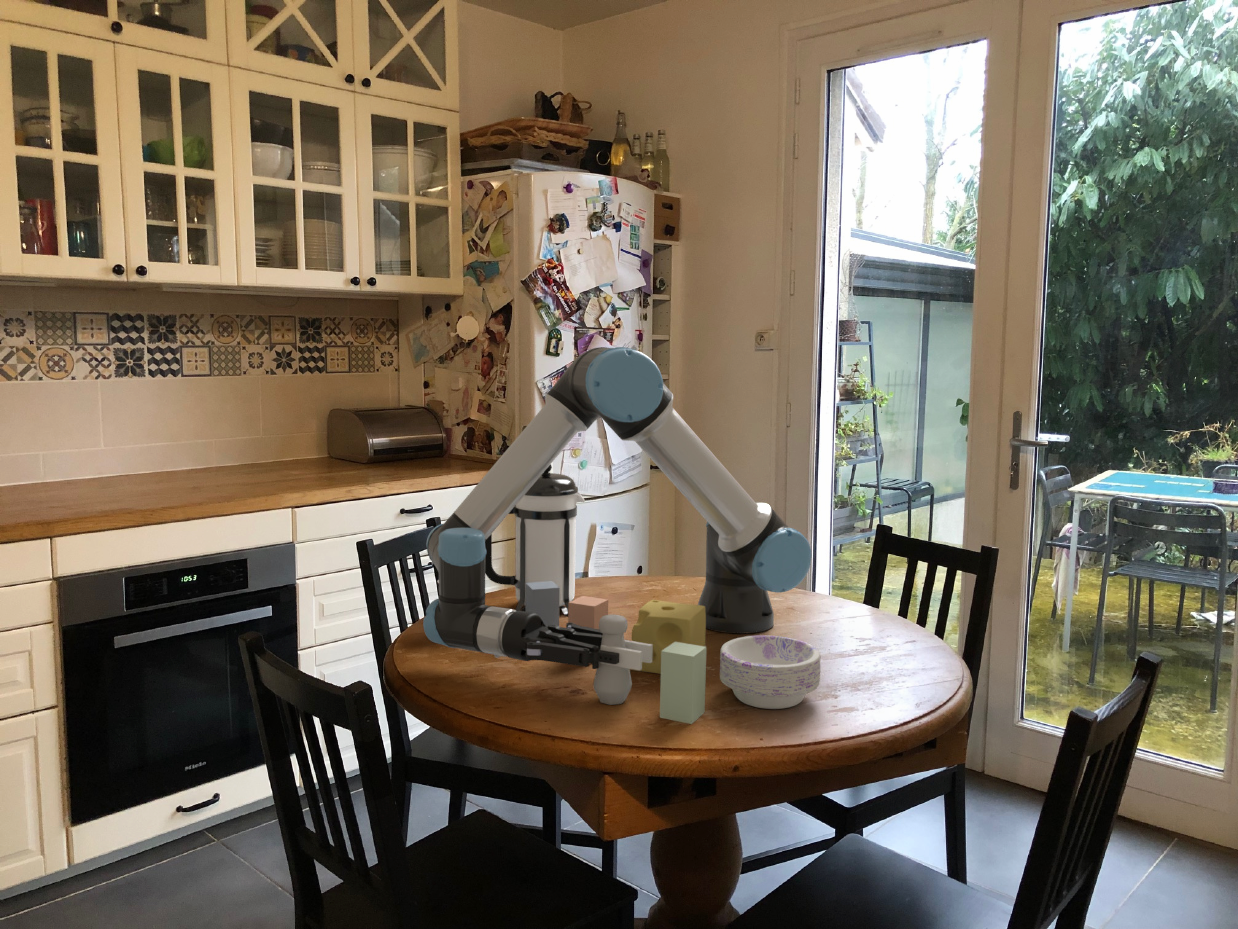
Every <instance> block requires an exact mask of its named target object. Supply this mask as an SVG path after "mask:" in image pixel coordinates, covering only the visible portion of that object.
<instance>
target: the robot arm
mask: <svg viewBox="0 0 1238 929" xmlns="http://www.w3.org/2000/svg"><path fill="white" fill-rule="evenodd" d="M544 398H545V403H544V405H543V406H542V407H541V409H540V410H539V411H538V412H537V414H536V415H535V416H534V417H533V418H532V420H531V421H530V422H529V423H528V424H527V425H526V427H525V428H524V429H523V430H522V431H521V432H520V433H519V435H518V436H517V437H516V438H515V439H514V441H513V442H512V443H511V444H510V445H509V447H508V448H507V449H506V450H505V451H504V453H502V455H501V456H500V457H499V459H498V460H497V461H496V462H495V463H494V464H493V465H492V467H491V468H490V469H489V470H488V471H487V472H486V474H485V475H484V476H483V477H482V479H481V480H479V482H478V483H477V485H476V486H475V487H474V488H473V489H472V490H471V491H470V493H468V495H467V496H466V497H465V498H464V499H463V501H462V502H461V503H460V505H458V506H457V508H456V509H455V510H454V511H453V512H452V514H451V515H450V516H449V517H448V518H447V519H446V521H445V522H444V523H441V524H438V525H437V526H435V527H434V528H433V529H431V531H430V532H429V534H427V535H428V536H427V539H426V551H427V552H426V553H427V556H428V558H429V560H430V561H431V562H432V564H433V565H434V566H435V568H436V570H437V572H438V580H439V591H438V598H436V599H434V600H432V601H431V602H430V603H429V604H428V606H427V608H426V609H425V616H424V617H423V620H422V621H423V622H422V624H423V626H422V627H423V631H424V634H425V636H426V637H427V639H428V640H429V641H431V642H432V643H434V644H439V645H442V646H445V647H448V648H450V649H451V648H452V649H458V650H459V649H460V650H466V651H472V652H478V653H479V652H480V653H483V654H489V655H494V658H497V659H498V658H500V657H504V658H505V657H508V658H509V659H513V660H520V661H525V662H529V661H543V662H551V663H557V664H563V665H564V664H565V665H571V666H577V667H584V668H587V667H590V663H591V666H592V667H591V668H592V670H596V669H597V668H599V662H600V663H601V664H605V663H606V664H607V665H612V666H618V667H623V668H629V669H630V670H631V669H634V670H641V669H642V662H646V663H651V662H652V654H653V644H647V643H641V642H635V641H632V640H627V639H624V640H625V646H626V648H620V647H615V646H613V647H611V646H606V645H601V642H602V636H603V633H601V632H600V630H599V629H594V628H589V627H584V626H579V625H577V624H574V623H571V622H569V623H568V622H567V623H566V625H565V626H566V627H563V626H560V625H559V626H558V625H548V626H545V624H544V623H543V621H542V619H541V617H540V616H539V615H538V614H535V613H530V612H524V611H521V610H520V611H516V610H515V609H514V608H513V609H512V608H507V607H500V606H492V605H488V604H486V573H485V559H486V551H487V550H486V548H485V541H486V540H487V538H488V537H489V536H490V535H491V534H493V533H494V531H495V530H496V529H497V528H498V526H499V525H500V524H501V523H502V522H503V520H505V518H506V517H507V516H508V515H510V514H509V512H510V511H511V510H512V509H513V508H514V507H515V505H516V504H517V503H518V502H519V501H520V499H521V498H522V497H523V496H524V495H525V494H526V492H527V491H528V490H529V489H530V488H531V487H532V485H533V484H534V483H535V482H536V481H537V479H538V478H539V477H540V476H541V475H542V474H543V472H544V471H545V470H546V469H547V468H548V467H549V465H550V464H551V465H552V463H553V462H554V460H556V458H558V456H559V455H560V454H561V452H562V451H563V450H564V449H565V448H566V447H567V445H568V444H570V443H571V441H572V440H573V438H574V437H575V436H576V435H577V434H578V433H579V432H586V431H587V430H588V429H589V428H590V427H591V426H592V425H593V424H594V422H596V421H597V420H598V419H599V418H601V419H602V420H603V421H604V422H605V423H606V425H607V426H608V427H609V428H611V430H612V432H614V434H616V436H617V437H618V438H619V439H620V440H621V441H626V442H627V441H628V442H629V441H630V442H635V443H636V444H637V446H639V447H640V449H641V450H642V451H643V452H644V453H645V454H646V455H647V456H648V458H649V459H650V460H651V461H652V462H653V463H654V464H655V465H656V466H657V467H658V469H660V471H661V472H662V473H663V474H664V475H665V477H666V478H668V480H669V481H670V482H671V483H672V485H674V487H675V488H677V490H678V491H680V493H681V494H682V495H683V497H684V498H686V499H687V501H688V502H689V503H690V504H691V505H692V506H693V508H694V509H696V511H697V512H698V513H699V514H700V515H701V516H702V517H703V519H704V520H705V521H706V523H705V527H706V543H705V544H706V548H705V550H706V552H705V582H704V586H703V588H702V590H701V594H700V597H699V599H698V603H697V605H701V606H705V613H706V630H711V631H715V632H720V633H727V634H752V633H761V632H764V631H767V630H769V629H771V628H773V627H774V623H775V622H774V621H775V620H774V619H775V617H774V615H775V613H774V610H773V606H772V602H771V599H770V596H769V592H771V593H777V594H778V593H785V592H788V591H790V590H792V589H793V590H794V588H796V587H797V586H798V585H800V584H801V583H802V582H803V581H804V579H805V578H806V576H807V575H808V573H809V571H810V568H811V561H812V556H813V553H812V547H811V544H810V542H809V541H808V538H806V537H805V536H804V534H802V532H801V531H799V530H798V529H795V528H793V527H790V526H788V525H787V523H785V521H784V520H783V519H782V518H781V517H780V516H779V514H778V513H777V512H776V511H775V510H774V509H773V507H772V506H771V505H769V504H768V503H767V502H755V500H754V499H753V498H752V497H751V495H749V493H748V492H747V491H746V490H745V489H744V487H743V486H742V485H741V484H740V483H739V482H738V481H737V479H736V478H734V476H733V474H731V473H730V471H729V470H728V469H727V468H726V466H724V465H723V463H721V461H720V460H719V459H718V457H717V456H716V455H714V453H713V452H712V450H711V449H709V448H708V446H707V445H706V444H705V442H703V440H701V439H700V437H699V436H698V435H697V433H695V431H694V430H693V429H692V428H691V427H690V426H689V424H688V423H686V421H685V420H684V418H683V417H681V415H680V414H679V413H678V412H677V411H676V409H675V408H674V407H673V405H674V404H673V403H674V394H673V393H672V391H671V390H670V389H669V388H668V387H667V385H666V384H665V382H664V380H663V376H662V373H661V371H660V369H659V367H658V364H656V363H655V361H654V360H652V358H650V357H649V356H648V355H646V353H645V354H644V352H641V351H638V350H637V349H634V348H631V347H625V346H617V347H608V346H607V347H606V346H605V347H603V346H602V347H601V346H599V347H594V348H591V349H588V350H585V352H583V353H581V354H580V355H578V356H577V358H575V360H573V362H571V364H570V365H569V366H568V368H566V370H565V371H564V372H563V373H562V375H561V376H560V378H558V379H557V381H556V382H555V383H554V385H553V386H552V387H551V388H550V390H549V391H548V392H547V393H546V394H545V396H544ZM600 648H601V650H600Z"/></svg>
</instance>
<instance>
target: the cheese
mask: <svg viewBox="0 0 1238 929" xmlns="http://www.w3.org/2000/svg"><path fill="white" fill-rule="evenodd" d="M637 618H638V619H637V622H636V623H634V625H633V627H632V629H631V641H635V642H641V643H647V644H653V654H652V662H651V663H646V662H642V669H641V670H634V669H630V671H635V672H643V673H644V672H645V673H651V674H659V675H661V651H662V650H664V649H665V648H667V647H668V646H669V645H671V644H672V643H674V642H680V643H686V644H692V645H698V646H704V647H706V630H707V628H706V613H705V606H701V605H698V604H694V603H693V604H692V603H682V602H681V603H679V602H672V601H664V600H658V599H651V600H649V601H648V602H646V603H645V604H643V606H640V608H639V610H638V617H637Z"/></svg>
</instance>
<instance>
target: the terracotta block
mask: <svg viewBox="0 0 1238 929" xmlns="http://www.w3.org/2000/svg"><path fill="white" fill-rule="evenodd" d="M605 615H609V599H606V598H599V597H595V596H594V597H593V596H587V595H581V596H580V597H579V596H578V597H577V598H575V599H573V601H571V602H569V608H568V615H567V618H568V622H567V623H569V622H571V623H574V624H577V625H579V626H584V627H589V628H594V629H599V621H600V619H601V618H602V617H603V616H605ZM590 664H591V663H589V665H590ZM591 665H592V664H591Z"/></svg>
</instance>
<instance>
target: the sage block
mask: <svg viewBox="0 0 1238 929" xmlns="http://www.w3.org/2000/svg"><path fill="white" fill-rule="evenodd" d="M706 670H707V646H705V647H704V646H698V645H692V644H686V643H680V642H674V643H672V644H671V645H669V646H668V647H667V648H665V649H664V650H662V651H661V674H660V690H659V691H660V694H659V718H661V719H665V720H671V721H674V722H679V723H684V724H690V725H692V724H694V723H695V722H696V721H697V720H698V719H699V718H700V717H702V715H703V714H705V710H706V709H705V708H706V707H705V706H706V681H707V680H706V674H707V671H706Z"/></svg>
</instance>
